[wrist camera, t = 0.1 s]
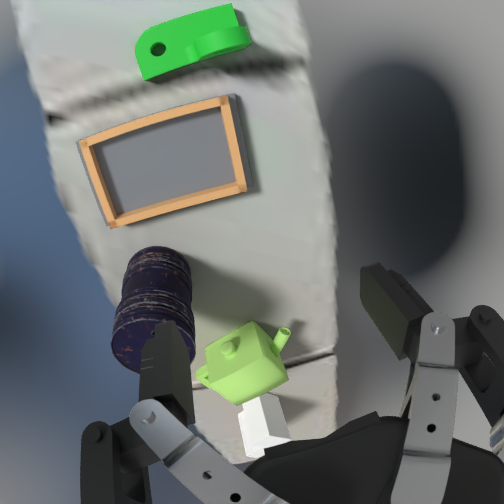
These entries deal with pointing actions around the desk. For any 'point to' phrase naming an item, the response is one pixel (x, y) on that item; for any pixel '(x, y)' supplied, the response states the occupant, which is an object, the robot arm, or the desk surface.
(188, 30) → the mechanical part
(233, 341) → the gearbox
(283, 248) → the desk surface
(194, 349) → the storage jar
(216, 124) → the fitting jig
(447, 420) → the robot arm
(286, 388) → the desk surface
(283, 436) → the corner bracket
